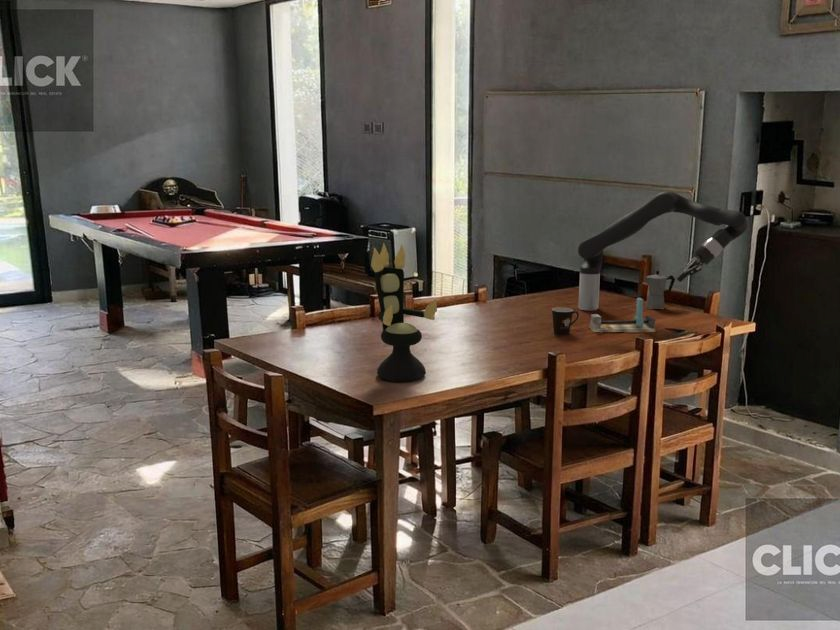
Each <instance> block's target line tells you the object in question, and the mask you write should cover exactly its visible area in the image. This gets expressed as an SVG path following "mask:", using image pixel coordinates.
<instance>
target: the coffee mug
mask: <svg viewBox="0 0 840 630" xmlns="http://www.w3.org/2000/svg"><path fill="white" fill-rule="evenodd" d="M551 312H552V314H551V315H552V327H553V334H554V335H557V336H568V335H570V332H571V327H572V325H573V324H574V323H575V322H576V321H577V320H578V319H579V317H580V316H579V312H578V311H575V310H573V309H572V308H568V307H553V308H551ZM574 314H576V318H575V320H572V319H573V315H574Z"/></svg>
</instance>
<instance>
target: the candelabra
mask: <svg viewBox="0 0 840 630" xmlns="http://www.w3.org/2000/svg"><path fill="white" fill-rule="evenodd" d="M389 257H390V254H389V252H388V250H387V247H386V245H385V242H383V244H382V248H381V251H380V253H379V252H378V250H377V248H375V247H373V252H372V258H371V265H370V266H371V268H372V270H373V272H374V283H375V288H376V289H375V290H376V293H377V299H378V302H379V303H378V304H379V308H380V311H379V312H378V313H377V317H378V320H379V321H381V324H382V331H381V334H380V339H381V341H382V342H383V343H384V344H385V345H388V346H392V352H391V353H390V354H389V355H388V356H387V357H386V358H385V359H384V360H383V361H382V362H381V363H380V364H379V366H378V367H377V371H376V374H377V375H378V376H379V378H380V379H382V378H383V379H382V380H384V379H385V381H388V380H389V382H395V381H397V383H405V382H406V383H407V382H414V380H415V381H418V380H420V379H422V378H423V377H425V375H426V374H427V372H426V367H425V366H424V364H423V362H421V361H420V359H418V358H417V357H416V356H414V354H412V352H411V346H415V345H416V344H417V345H418V344H419V343H420V342H421V341H422V337H423V335H422V332H421V331H420V329H418V328H417V327H416V326H414V325H412V324H410V323H407V322H405V319H404V318H405V317H404V315H406V316H412V317H418V318H425V319H426V320H431V321H434V320H435V316H436V315H435V314H436V313H437V312H438V307H437V305H438V304H437V299H436V298H434V300H433V301H430V302H429V303H428V304H427V306H426V308H425V309H424V310H420V309H414V308H404V290H405V289H404V287H405V272H404V268H405V261H406V253H405V249H404V245H403V244H401V245H400V248H399V250H398V252H397V254H396V256H395V258H394V261H393V262H394V267H392V266H391V267H390V266H389V265H390V262H389V259H390V258H389Z"/></svg>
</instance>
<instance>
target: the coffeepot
mask: <svg viewBox="0 0 840 630" xmlns="http://www.w3.org/2000/svg"><path fill="white" fill-rule="evenodd" d="M643 280H645V282H646V284H647V286H648V297H647V300H646V304H645V308H646V307H647V308H650V309H649V310H651V309H662V308H665V306H666V305H665V297H664V292H665V293H670V292H672V289H673V286H674V284H675V282H676V279H675V277H674V276H673V275H662V274H660V271H659V270H656V272H655V274H652V275H647V276H644V277H643ZM668 280H670V283H669V284H670V285H669V286H668V290H666V284H667V281H668ZM647 308H646V309H647ZM665 309H666V308H665Z"/></svg>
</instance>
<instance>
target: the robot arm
mask: <svg viewBox="0 0 840 630" xmlns="http://www.w3.org/2000/svg"><path fill="white" fill-rule="evenodd" d="M668 213H669V214H670V213H680V214H684V215H688V216H691V217H693V218H695V219H696V220H699V221H702V222H703V223H704V222H705V223H707V224H711V225H714V226H720V227H721V226H722V225H726V227H724V228H721V229H718V230H717V231H715V232H714V233H713V234H712V235H711V236H710V238H708V239H707V240H705V241H704V242H703V243H702V244H701V245H699V247H698V248H697V249H696V250H695V251H694V254H693V255H695V256H694V257H692V258H691V259H690V260H686V261H684V264H683V266H682V268H681V272H680V273H679V274H678V275H677V276H676V279H675V280H677V282H680V283H681V282H682V281H684V280H685V279H686V278H687V277H691V276H693V275H695V274H697V273H698V272H700V271H701V270H702V269H703V268H702V266H703V265H709V264H710V263H711V262H712V261H713V260H714V259H715V258H716V257H717V256H718V255H719V254H720V253H721V252H722V251H723V249H726V247H727V246H728V245H729V244H730V243H731V242H732V241H734V240H736V239H737V238H739V237H740V236H741V235H743V234H744V233H745V232H746V230H747V229H748V219H747V217H746V216H745V213H742V212H741V211H737V210H732V209H731V210H730V209H721V208H719V207H715V206H712V205H708V204H704V203H701V202H697V201H694V200H691V199H689V198H686V197H684V196H683V195H680V194H678V193H676V192H674V191H668V190H667V191H662V192H660V193H658V194H656V195H655V196H654V197H652V199H650V200H649V201H648V202H646V203H644V205H642V206H640V207H638V208H637V209H634V210H632V211H631V212H629V213H627V214H625V215H623V216H622V217H620V218H619V219H617V220H616V221H614V222H613V223H611V224H610V225H608V226H606V228H605V229H603V230H602V231H600V232H598V233H597V234H595V235H593V236H590V237H589V238H586V239H584V240H582V241H581V242H580V243H579V245H578V247H577V253H578V256H579V257H580V258H582V259H583V261H582V264H581V266H580V267H579V285H578V287H579V288H578V310H581V311H590V312H591V311H598V310H599V300H600V278H601V269H602V266H603V258H604V257H603V256H604V249H606V248H608V247H610V246H612V245H615V244H618V243H619V242H622V241H624V240H626V239H628V238H630V237H632V236H633V235H635V234H637V233H638V232H639V231H641V230H642V229H643V228H644V227H646V225H647V224H648V223H649V222H650V221H652V220H654V219H656V218H658V217H659V216H662V215H665V214H668ZM597 309H598V310H597Z"/></svg>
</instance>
